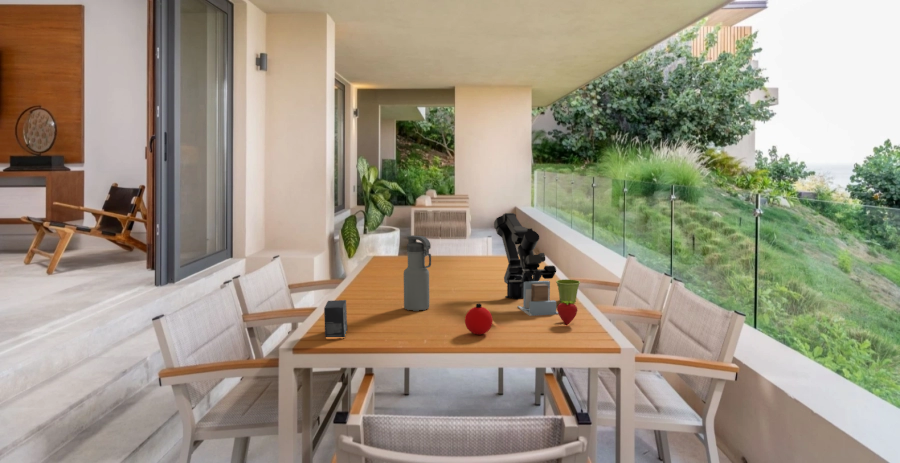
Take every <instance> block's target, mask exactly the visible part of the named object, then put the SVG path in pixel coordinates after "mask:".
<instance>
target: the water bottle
mask: <svg viewBox="0 0 900 463" xmlns="http://www.w3.org/2000/svg"><path fill="white" fill-rule="evenodd" d="M407 240H408V241H407V244H406V253H407V267H406V268H405V269H404V271H403V309H405V310H406V309H407V310H406V311H409V310H413V311H412V312H420V311H419V310H423V311H426V309H427V310H428V309H429V308H430V270H429V269H428V268H431V265H432V254H431V253H430V249H431V242H430V240H429V238H427V237H426V236H423V235H407ZM426 257H428V264H427V265H426V264H425V263H426V261H425V260H426Z"/></svg>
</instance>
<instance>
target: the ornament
mask: <svg viewBox="0 0 900 463" xmlns="http://www.w3.org/2000/svg"><path fill="white" fill-rule="evenodd" d="M464 318H465V319H464V323H465V327H466V329H467V330H468V331H469V332H470V333H471V334H474V335H478V336H479V335H484V334H486V333H488V332H489V331H490V330H491V328H492V327H493V326H492V325H493V320H494V318H493V316H492V313H491V312H490V310H489V309H487V308H486V307H484V306H482V304H481V303H476V304H475V306H474V307H472V308H470V309H469V310H468V311H467V312H466V314H465V317H464Z"/></svg>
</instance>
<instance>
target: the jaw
mask: <svg viewBox="0 0 900 463" xmlns="http://www.w3.org/2000/svg"><path fill="white" fill-rule="evenodd" d="M532 284H546V285H548V301H551V300H550V299H551V281H549V280H539V281H529V282H524V298H522V299H523V300H522V301H523V303H522V304H523V306H522V307H523V308H524V309H529V302H531V286H532Z"/></svg>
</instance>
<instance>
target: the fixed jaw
mask: <svg viewBox="0 0 900 463" xmlns="http://www.w3.org/2000/svg"><path fill="white" fill-rule="evenodd" d="M556 311H557V301H556V300H554V299H553V300H552V299H551V300H550V301H531V302H529V313H531V314H532V315H536V316H541V315H540V314H554V315H557V314H556Z"/></svg>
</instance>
